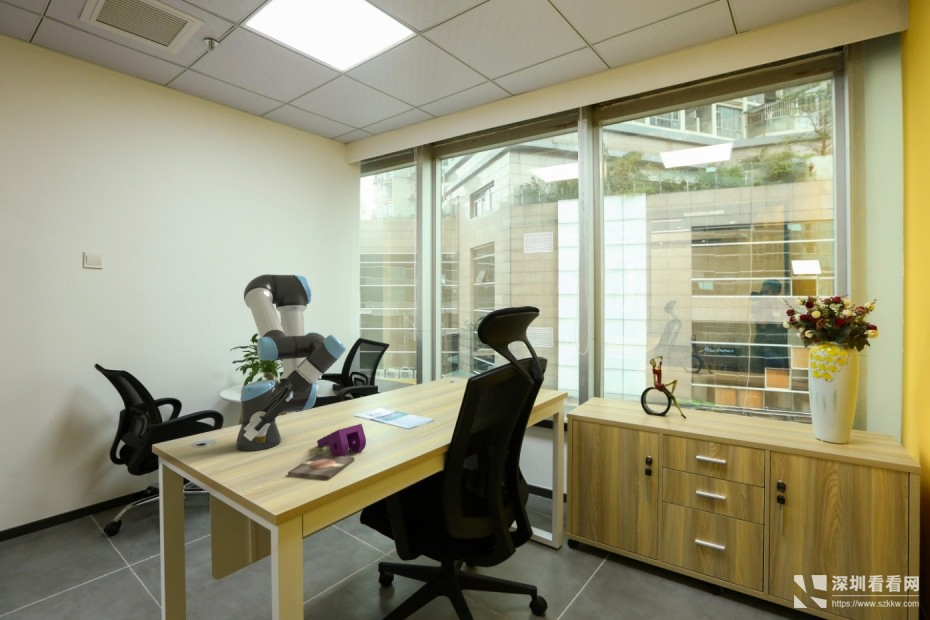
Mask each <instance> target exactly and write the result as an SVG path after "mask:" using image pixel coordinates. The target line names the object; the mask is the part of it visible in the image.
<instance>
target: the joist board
mask: <svg viewBox="0 0 930 620" xmlns="http://www.w3.org/2000/svg"><path fill="white" fill-rule="evenodd" d="M354 462H355V457H354V456H333V455H332V454H331V455H330V454H320V453H319V454H315V455H313V456H312V457H310V458H308V459H306V460H304V461H303V462H301V463H299V465H297V466H295V467H294V468H292V469H290V470H289V471H288V472H287V476H288V477H297V478H307V479H317V480H327V481H330V480H331V479H332V478H334V477H335V476H337V475H338V474H340V473H341V471H343V470H344V469H345V468H347V467H348V466H350V465H351V464H352V463H354Z"/></svg>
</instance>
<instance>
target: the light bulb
mask: <svg viewBox="0 0 930 620" xmlns="http://www.w3.org/2000/svg"><path fill="white" fill-rule="evenodd" d="M265 414H266V412H263V411H260V412H256V413H255V414H253V415H252V417H251V419H250V426H251V427H252V426H253V425H254V424H255V423H256V422H257V421H258V420H259V419H260V416H262V417H263V416H264V415H265ZM270 424H271V423H270ZM270 424H269V423H268V424H267V425H266V426H265V427H264V428H263V429H262V430H261V431H260V432H259V433H258V434H257V435H256V443H258V444H263V443H264V442H265V436H266V432H267V429H268V427H269V426H270Z"/></svg>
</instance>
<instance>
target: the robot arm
mask: <svg viewBox="0 0 930 620" xmlns="http://www.w3.org/2000/svg"><path fill="white" fill-rule="evenodd" d="M243 301H244V303H245V305H246V306H247V308H249V309H250V311H251V313H252V317H253V320H254V323H255V326H256V329H257V331H258V335H259V338H258V339H257V341H256V352H257V353H256V354H257V358H258V359H259V360H260V361H264V362H265V361H270V362H271V361H282V374H281V375H280V377H279V382H276V381H275V380H274V379H264V380H263V379H262V380H257V381H254V382H251V383H248V384H245V385H244V386H243V387H241V391H240V397H239V400H240V417H241V418H240V421H241V422H240V423H241V425H240V428H239V432H238V434H237V439H236V441H235V448H236V449H237V450H239V451H244V452H247V451H249V452H252V451H261V450H266V449H270V448H274V447H276V446H277V445H278V446H279V444H281V442H282V441H281V438H282V437H281V434H280V431H279V428H278V425H277V422H276V419H277V417H278V416H279V415H280V414H285V413H286V414H287V413H293V412H294V413H295V412H302V411H306V410H310V409H311V408H313V407H314V405H315V403H316V399H317V396H318V386H317V381H318V380H322V376H323V375H324V374H325V373H326V372H327V371H328V370H329V369H330V368H331V367H332V366H333V365H334V364H335V363H336V362H337V361H338V360H339V359H340V358H341V356H342V355H343V354H344V353H345V352H346V346H345V344H343V343H342V342H341V341H340V340H339V339H338V338H336V337H335V336H334V335H333V334H329V335H327V337H325V336H324V335H322V334H321V333H318V332H314V331H312V332H308V333H306V334H305V322H304V312H305V310H306V309H308V305H309V304H310V303H311V301H312V290H311V286H310V282H309V280H308V278H306V276H303V275H296V274H269V273H268V274H261V275H258V276H256V277H254V278H253V279H252V280H250V281H249V282H248V283H247V285H246V287H245V289H244V291H243ZM274 305H275V306H274ZM277 312H279V315H280V318H279V316H278V313H277ZM260 411H263V412H266V414H265V415H264V416H263V417H262V416H260V419H259V420H258V421H257V422H256V423H255V424H254V425H253V426H252V427H251V426H250V419H251V417H252V415H253V414H255V413H256V412H260ZM268 423H269V424H270V423H271V424H270V426H269V427H268V429H267V432H266V436H265V442H264V443H263V444H258V443H256V435H257V434H258V433H259V432H260V431H261V430H262V429H263V428H264V427H265V426H266V425H267V424H268Z"/></svg>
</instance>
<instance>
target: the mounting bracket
mask: <svg viewBox="0 0 930 620" xmlns="http://www.w3.org/2000/svg"><path fill="white" fill-rule="evenodd" d="M316 443H317V447H318V448H321V447H325V446H329V451H330V454H331V455H332V456H345V457H347V455H348V453H349V450H350V451H352V452H353V453H359V452H361V451H363V450H365V448H366V445H367V438H366V434H365V431H364V427H363V423H359V424H356V425H352V426H347V427H344V428H339V429H337V430H335V431H334V432H331V433H329V434H328V435H326V436H324V437H322V438H319V439H318V440H316Z"/></svg>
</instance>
